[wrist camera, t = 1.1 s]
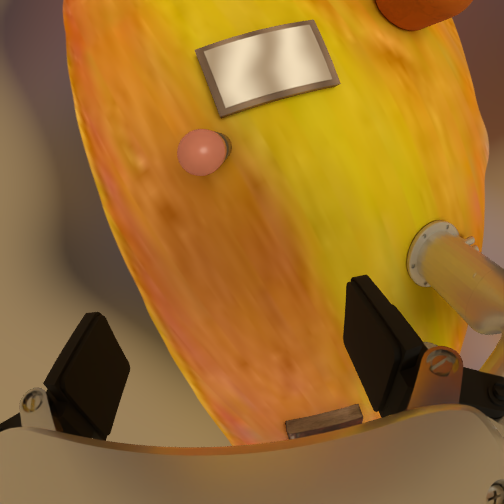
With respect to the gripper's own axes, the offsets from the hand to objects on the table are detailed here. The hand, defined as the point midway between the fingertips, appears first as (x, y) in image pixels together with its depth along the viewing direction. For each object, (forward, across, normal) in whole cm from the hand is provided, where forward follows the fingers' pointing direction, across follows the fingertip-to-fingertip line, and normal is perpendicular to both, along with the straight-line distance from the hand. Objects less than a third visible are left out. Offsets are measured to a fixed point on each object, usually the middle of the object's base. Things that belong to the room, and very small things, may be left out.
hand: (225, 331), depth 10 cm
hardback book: (+29, -14, +70) cm, 77 cm away
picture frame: (+30, -7, -16) cm, 34 cm away
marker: (+30, +1, -5) cm, 30 cm away
